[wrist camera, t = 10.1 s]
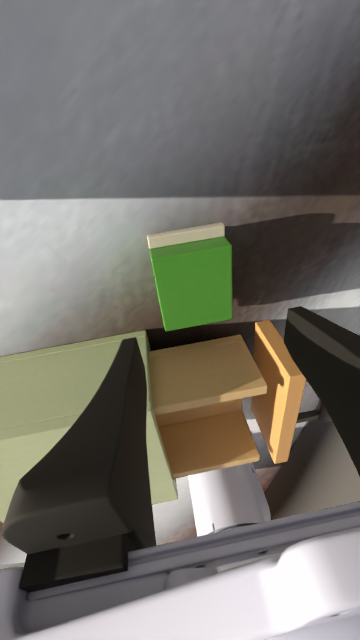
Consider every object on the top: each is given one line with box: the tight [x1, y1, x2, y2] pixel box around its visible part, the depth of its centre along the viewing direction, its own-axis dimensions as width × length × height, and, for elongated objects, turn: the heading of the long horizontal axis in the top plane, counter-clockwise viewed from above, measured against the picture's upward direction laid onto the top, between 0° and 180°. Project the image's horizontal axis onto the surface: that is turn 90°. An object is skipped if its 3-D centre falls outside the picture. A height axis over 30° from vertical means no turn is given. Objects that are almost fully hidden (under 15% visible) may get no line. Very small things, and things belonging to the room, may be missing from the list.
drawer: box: [149, 320, 332, 479], centre depth 23 cm, size 17×11×6 cm, turn 97°
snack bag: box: [147, 223, 233, 331], centre depth 18 cm, size 7×5×4 cm
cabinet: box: [0, 330, 178, 523], centre depth 22 cm, size 14×13×8 cm
